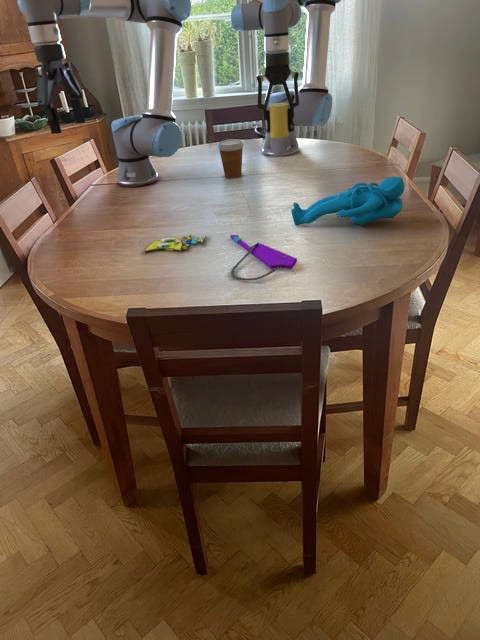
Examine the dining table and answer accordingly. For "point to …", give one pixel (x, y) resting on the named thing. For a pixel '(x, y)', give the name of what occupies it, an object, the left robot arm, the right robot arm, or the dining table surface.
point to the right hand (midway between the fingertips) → (279, 129)
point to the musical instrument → (264, 257)
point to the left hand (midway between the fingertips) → (69, 128)
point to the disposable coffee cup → (231, 156)
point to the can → (278, 120)
